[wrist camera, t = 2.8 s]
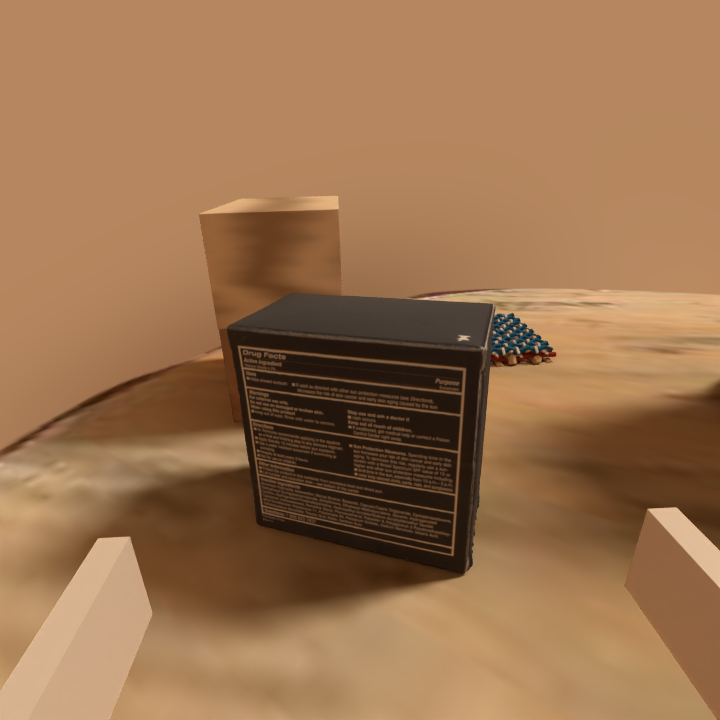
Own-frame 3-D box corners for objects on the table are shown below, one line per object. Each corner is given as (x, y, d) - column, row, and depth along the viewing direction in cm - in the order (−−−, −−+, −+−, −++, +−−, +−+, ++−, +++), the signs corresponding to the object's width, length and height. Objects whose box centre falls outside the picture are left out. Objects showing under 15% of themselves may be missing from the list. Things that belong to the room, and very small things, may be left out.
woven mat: (559, 369, 39) (563, 347, 38) (438, 376, 38) (439, 354, 37) (514, 328, 48) (516, 310, 47) (416, 333, 48) (416, 315, 47)
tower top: (341, 279, 40) (338, 195, 37) (343, 323, 29) (338, 209, 26) (251, 283, 39) (240, 198, 37) (217, 329, 28) (198, 213, 26)
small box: (482, 483, 25) (501, 298, 20) (470, 579, 19) (493, 351, 15) (306, 451, 28) (291, 285, 24) (251, 527, 22) (218, 325, 18)
